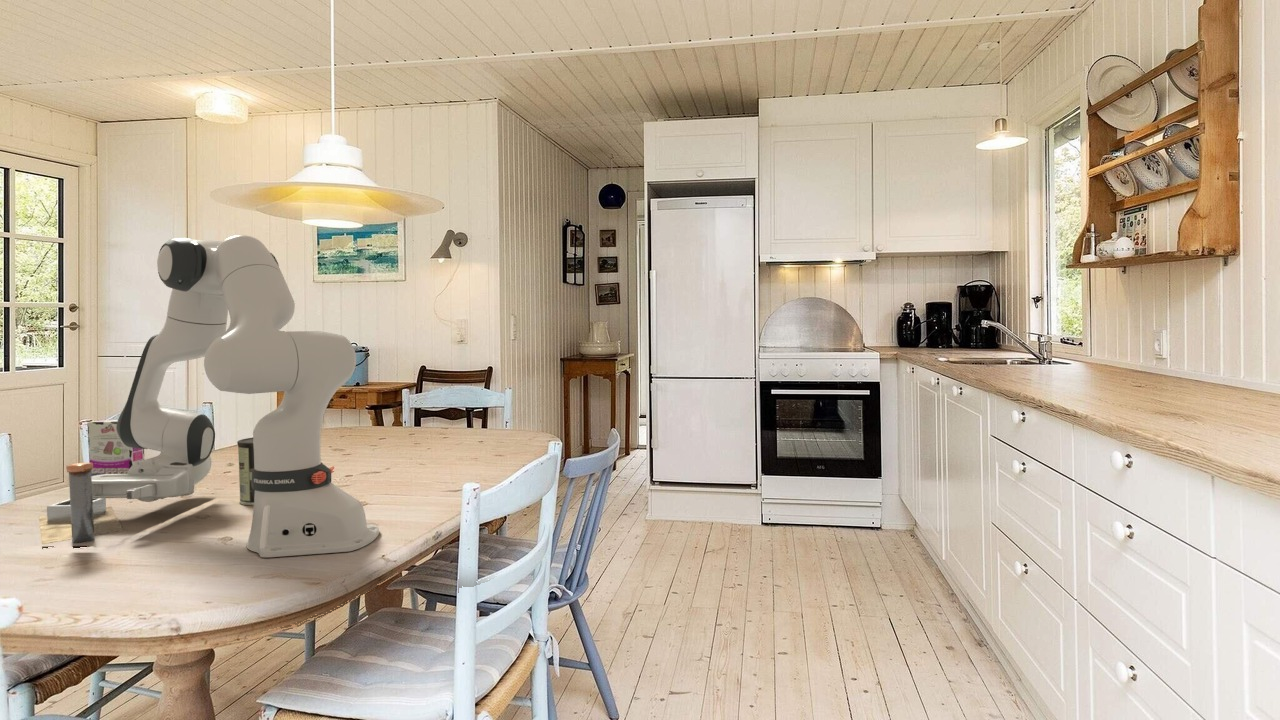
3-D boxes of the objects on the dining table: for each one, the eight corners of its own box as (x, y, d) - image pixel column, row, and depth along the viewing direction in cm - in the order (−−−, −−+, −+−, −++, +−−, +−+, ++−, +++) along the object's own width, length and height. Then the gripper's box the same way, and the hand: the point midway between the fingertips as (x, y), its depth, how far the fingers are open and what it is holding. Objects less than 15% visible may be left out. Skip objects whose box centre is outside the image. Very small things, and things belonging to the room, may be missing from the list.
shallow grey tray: (106, 511, 150) (105, 497, 150) (82, 520, 143) (81, 505, 143) (73, 512, 149) (72, 497, 149) (47, 521, 143) (46, 506, 143)
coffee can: (299, 495, 167) (298, 436, 166) (268, 506, 157) (266, 443, 156) (261, 493, 169) (259, 435, 168) (228, 504, 159) (226, 442, 158)
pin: (101, 542, 132) (98, 462, 131) (86, 549, 128) (82, 466, 127) (80, 542, 132) (76, 462, 131) (65, 549, 128) (60, 466, 127)
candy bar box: (147, 482, 181) (144, 418, 181) (132, 487, 176) (129, 421, 176) (105, 482, 182) (102, 418, 181) (89, 486, 177) (85, 421, 176)
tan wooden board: (124, 535, 136) (123, 530, 136) (42, 549, 128) (41, 543, 128) (111, 510, 154) (111, 506, 154) (39, 521, 146) (39, 516, 146)
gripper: (100, 465, 149) (48, 479, 135) (200, 463, 149) (158, 478, 135) (102, 495, 149) (49, 512, 135) (201, 493, 150) (159, 510, 136)
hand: (104, 495), depth 135 cm, fingers open, 8 cm apart
